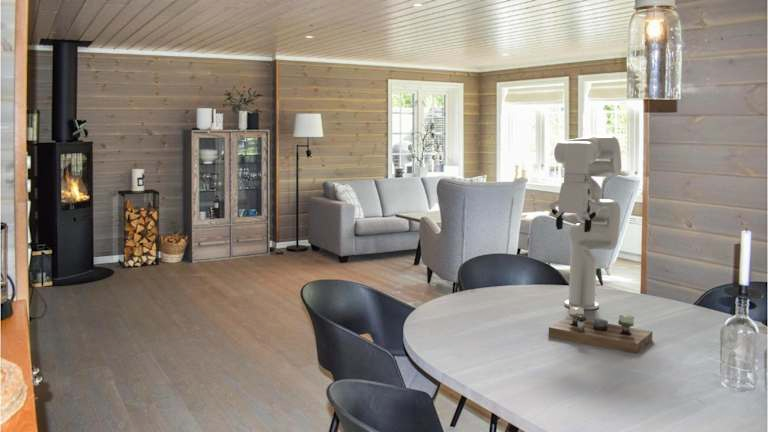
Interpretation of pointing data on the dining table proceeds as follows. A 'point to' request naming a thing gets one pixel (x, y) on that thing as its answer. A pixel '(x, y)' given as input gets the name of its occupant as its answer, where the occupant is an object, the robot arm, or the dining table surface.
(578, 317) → the dial post
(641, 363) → the dining table surface
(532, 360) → the dining table surface
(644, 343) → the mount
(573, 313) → the knob cream
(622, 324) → the knob sage
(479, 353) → the dining table surface
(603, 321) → the knob charcoal
